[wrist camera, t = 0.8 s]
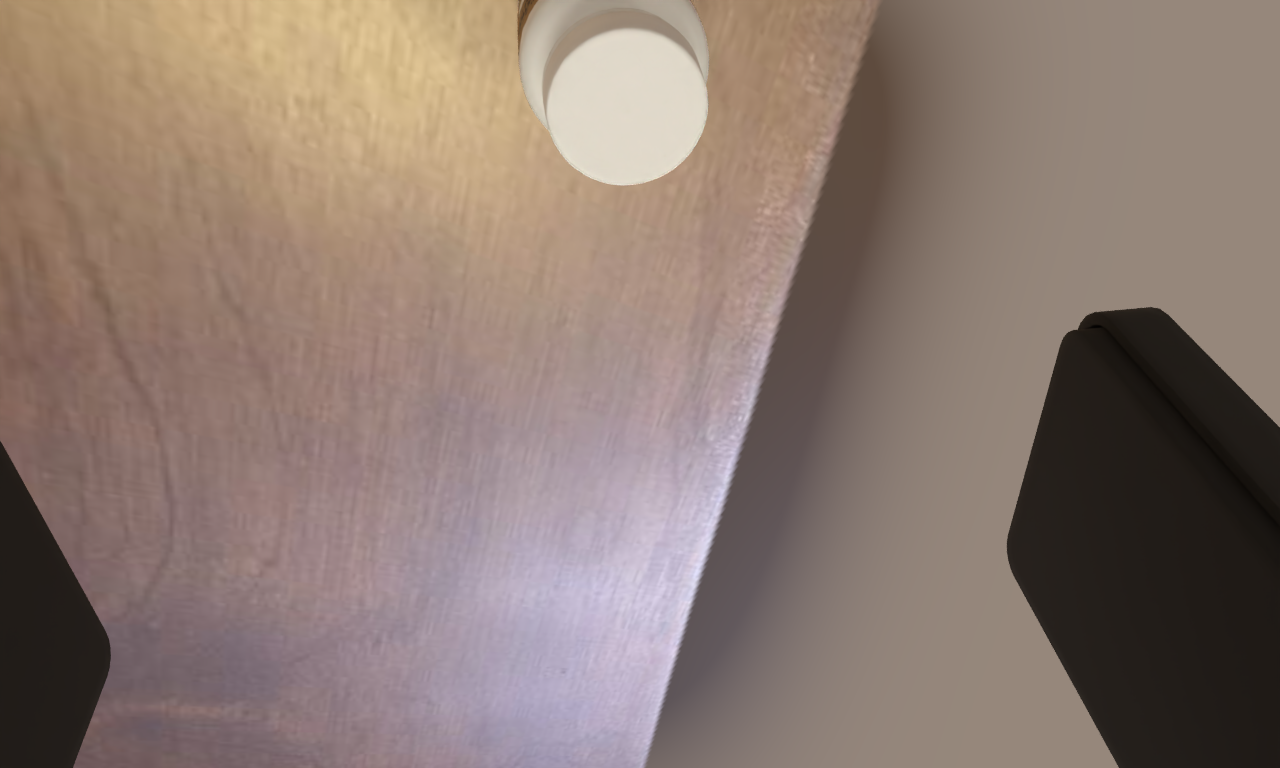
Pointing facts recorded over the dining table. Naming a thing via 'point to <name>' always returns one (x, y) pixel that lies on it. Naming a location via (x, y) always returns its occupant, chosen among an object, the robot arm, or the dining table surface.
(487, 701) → the dining table surface
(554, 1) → the pill bottle
